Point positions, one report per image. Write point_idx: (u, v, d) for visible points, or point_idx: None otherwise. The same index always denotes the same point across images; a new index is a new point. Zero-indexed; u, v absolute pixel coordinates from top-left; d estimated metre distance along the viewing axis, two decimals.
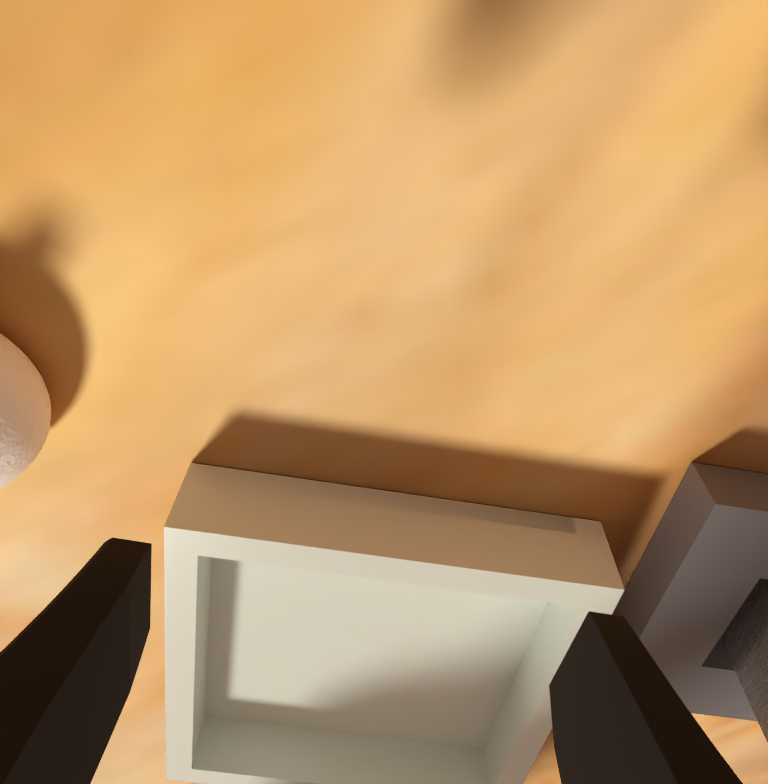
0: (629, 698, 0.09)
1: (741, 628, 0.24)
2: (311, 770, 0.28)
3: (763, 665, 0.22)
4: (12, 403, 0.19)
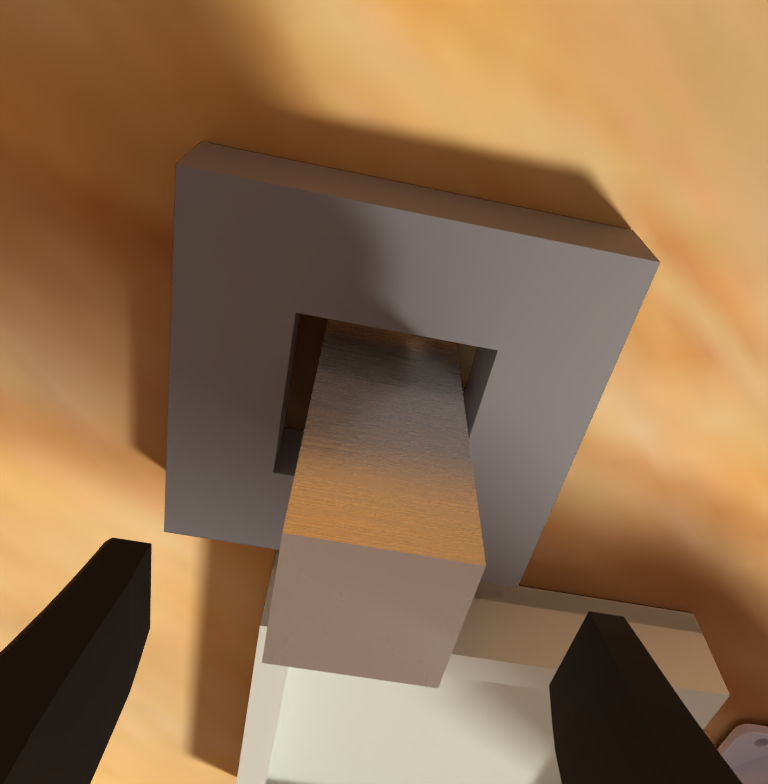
0: (629, 698, 0.09)
1: None
2: None
3: None
4: None
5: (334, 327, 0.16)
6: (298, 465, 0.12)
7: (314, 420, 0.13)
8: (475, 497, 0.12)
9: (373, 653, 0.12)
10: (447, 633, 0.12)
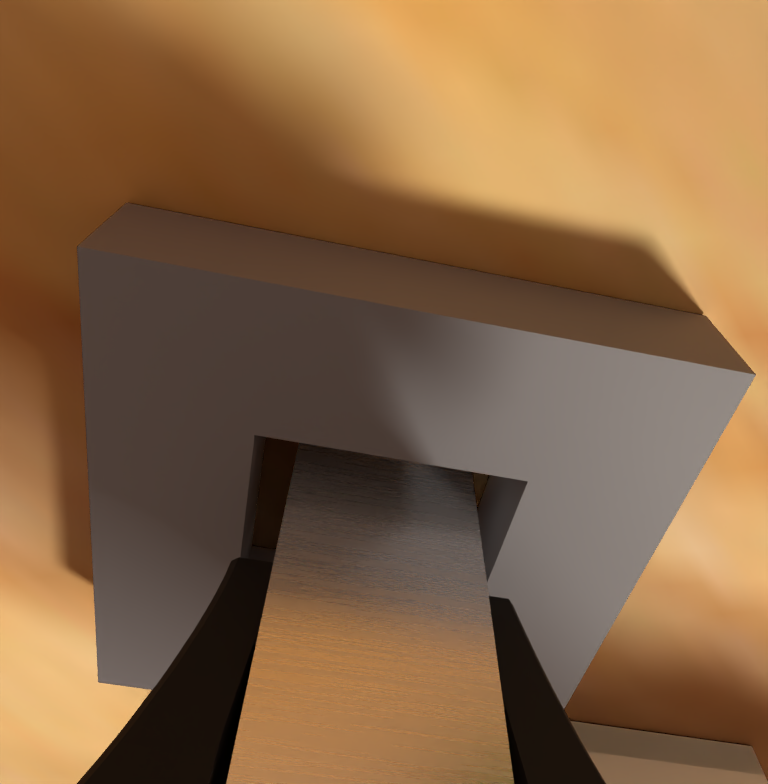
0: None
1: None
2: None
3: None
4: None
5: None
6: (243, 715, 0.08)
7: (272, 618, 0.09)
8: (508, 755, 0.08)
9: None
10: None
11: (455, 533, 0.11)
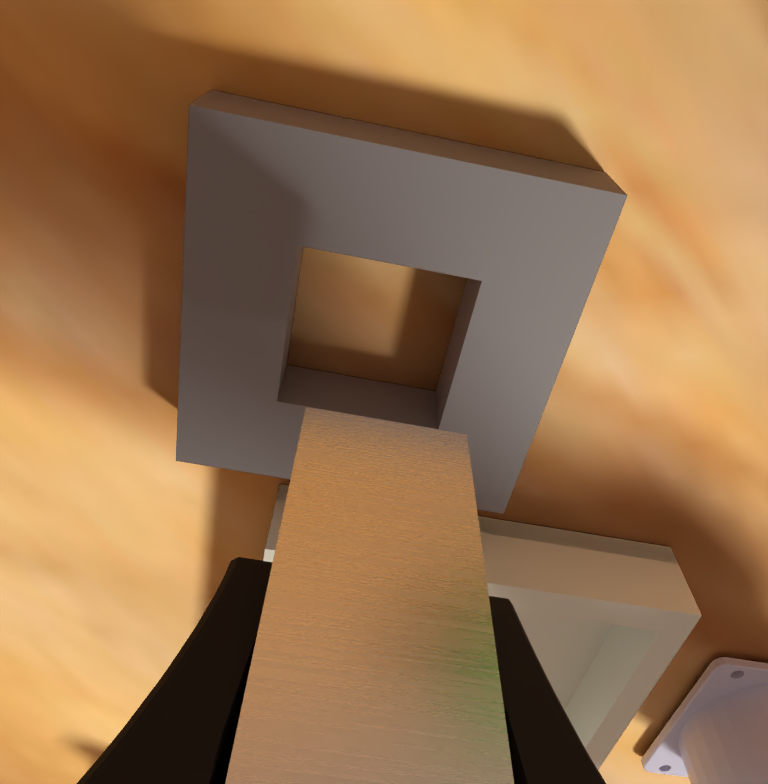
0: None
1: None
2: None
3: None
4: None
5: (309, 439, 0.12)
6: (242, 713, 0.08)
7: (272, 616, 0.09)
8: (508, 754, 0.08)
9: None
10: None
11: (455, 531, 0.11)
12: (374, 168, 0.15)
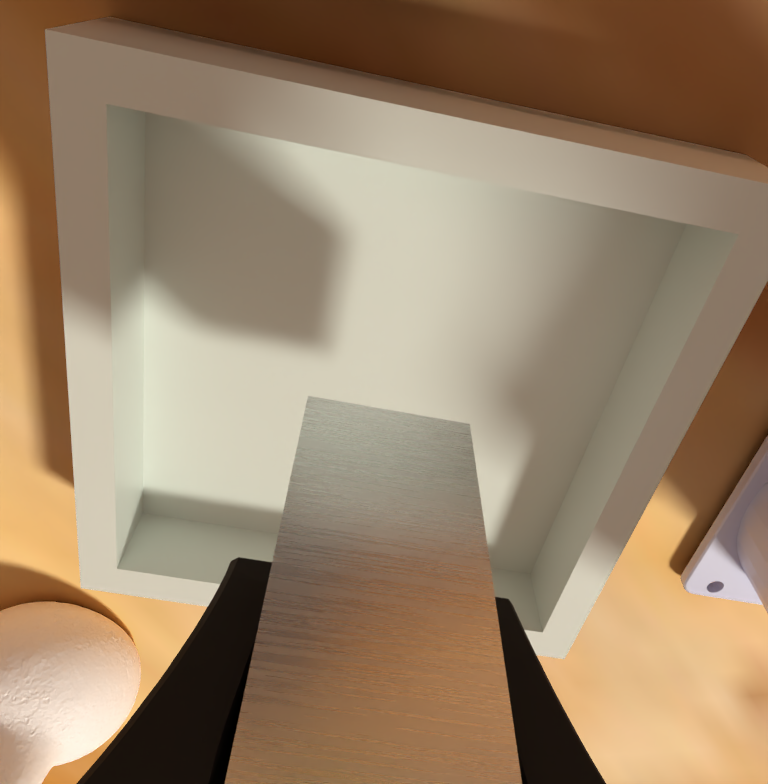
0: None
1: None
2: (597, 498, 0.17)
3: None
4: None
5: (311, 428, 0.12)
6: (245, 697, 0.08)
7: (274, 602, 0.09)
8: (513, 739, 0.08)
9: None
10: None
11: (458, 519, 0.11)
12: None
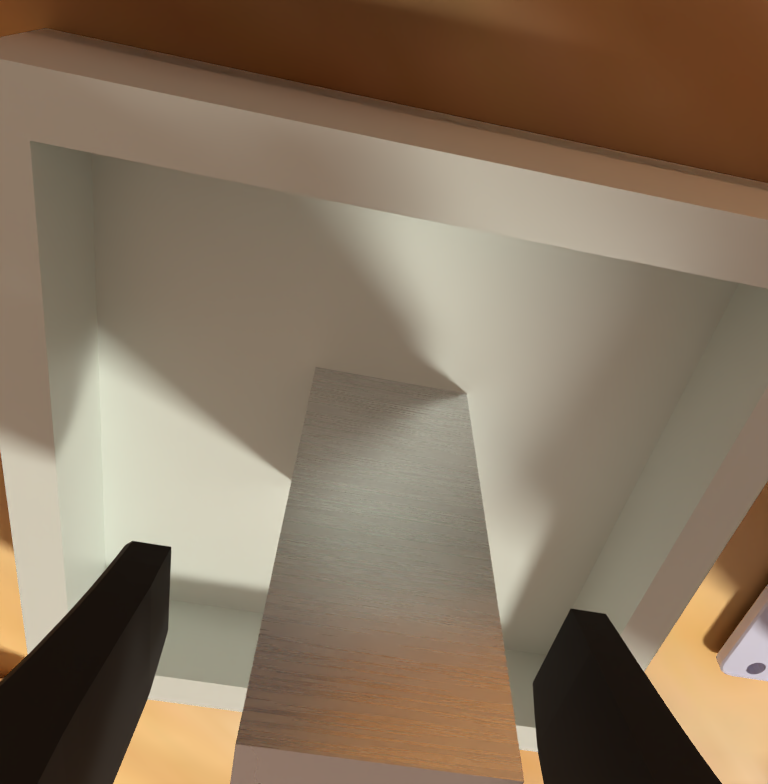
0: (608, 695, 0.09)
1: None
2: (630, 589, 0.15)
3: None
4: None
5: (319, 394, 0.13)
6: (264, 618, 0.09)
7: (289, 540, 0.10)
8: (503, 656, 0.09)
9: None
10: None
11: (455, 475, 0.12)
12: None
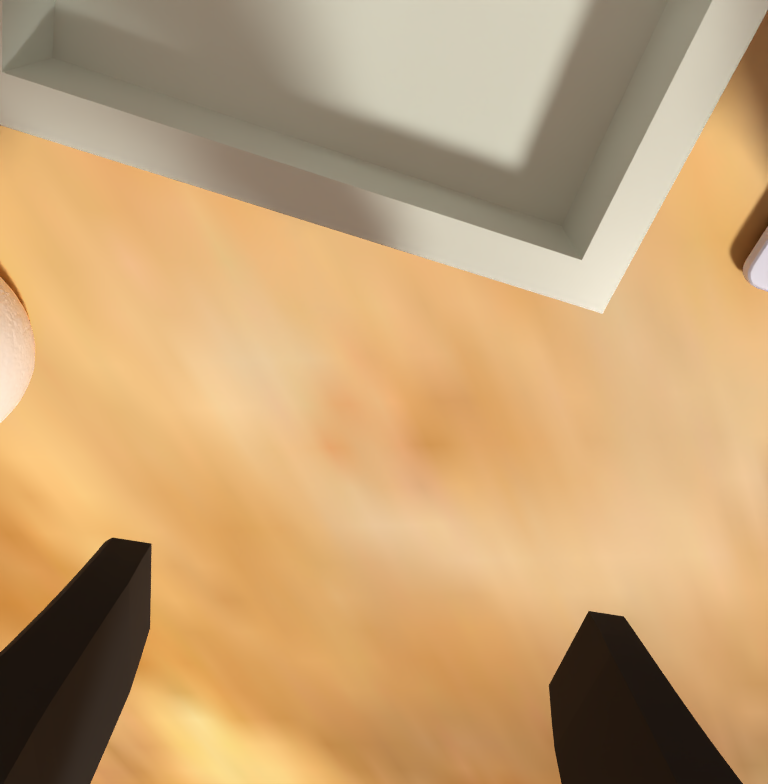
0: (629, 698, 0.09)
1: None
2: (692, 18, 0.13)
3: None
4: None
5: None
6: None
7: None
8: None
9: None
10: None
11: None
12: None
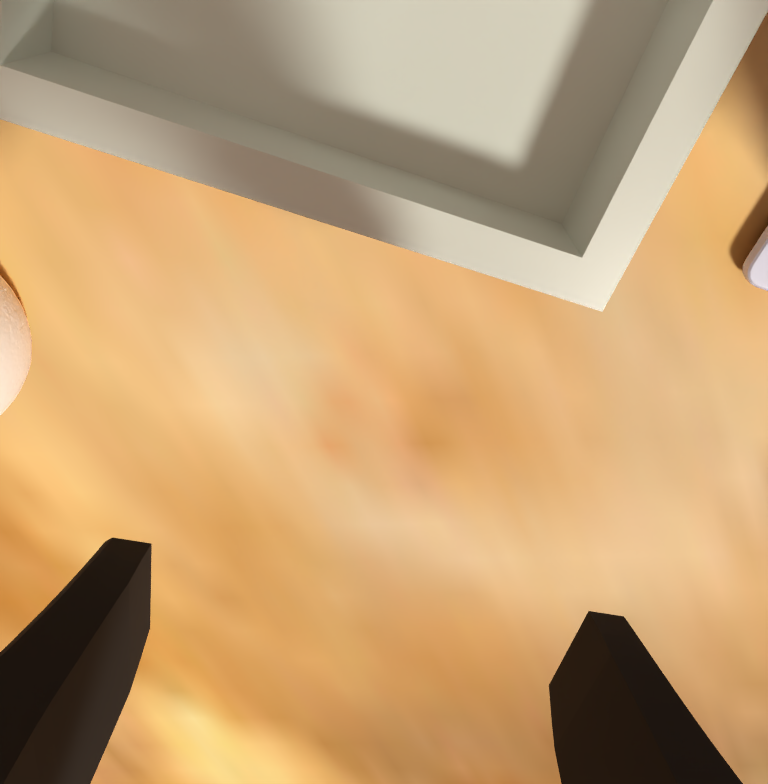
0: (629, 698, 0.09)
1: None
2: (694, 15, 0.13)
3: None
4: None
5: None
6: None
7: None
8: None
9: None
10: None
11: None
12: None
